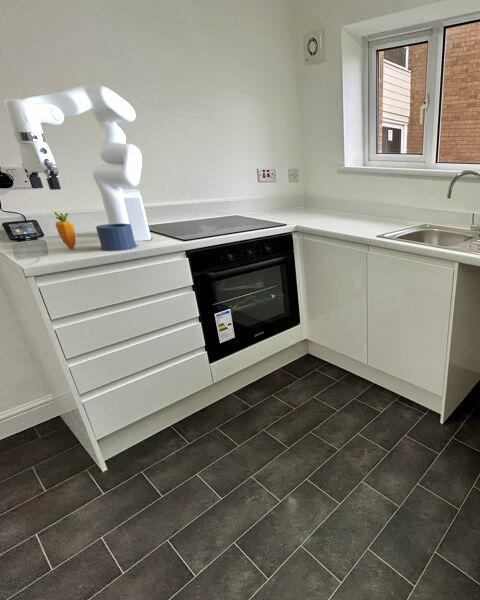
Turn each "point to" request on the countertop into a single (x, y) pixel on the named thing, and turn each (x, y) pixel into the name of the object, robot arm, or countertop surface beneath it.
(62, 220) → the carrot
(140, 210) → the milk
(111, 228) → the blue faceted cup
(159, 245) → the countertop surface
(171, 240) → the countertop surface
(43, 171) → the robot arm
